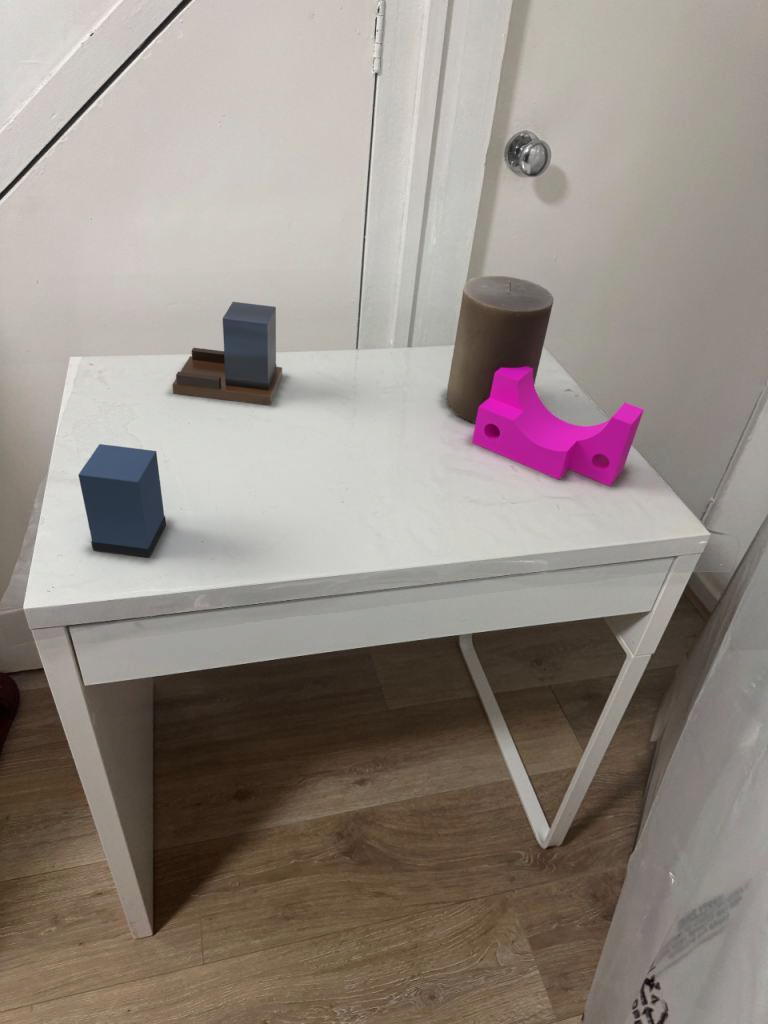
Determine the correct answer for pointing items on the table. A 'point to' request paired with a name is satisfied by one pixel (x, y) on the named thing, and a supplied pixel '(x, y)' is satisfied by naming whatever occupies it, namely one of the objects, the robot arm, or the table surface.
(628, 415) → the magenta pipe saddle clamp
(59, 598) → the table surface
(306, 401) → the table surface
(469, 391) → the pillar candle
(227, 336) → the stand
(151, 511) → the blue rectangular block
